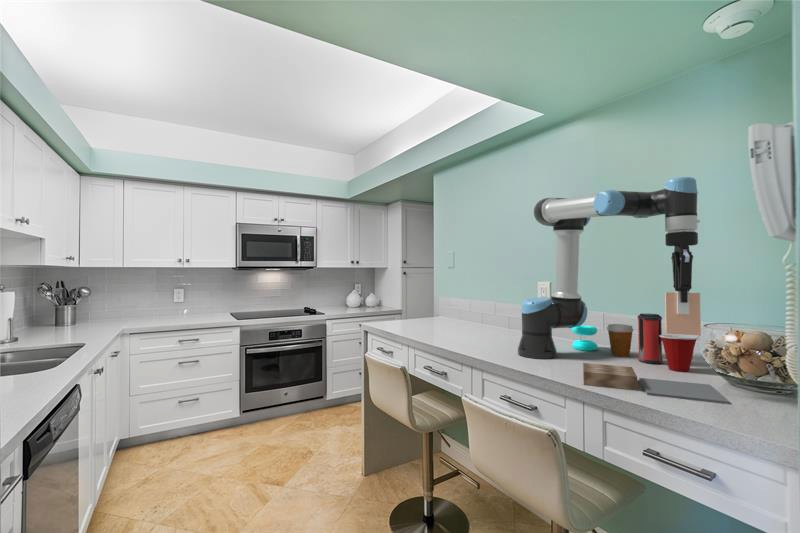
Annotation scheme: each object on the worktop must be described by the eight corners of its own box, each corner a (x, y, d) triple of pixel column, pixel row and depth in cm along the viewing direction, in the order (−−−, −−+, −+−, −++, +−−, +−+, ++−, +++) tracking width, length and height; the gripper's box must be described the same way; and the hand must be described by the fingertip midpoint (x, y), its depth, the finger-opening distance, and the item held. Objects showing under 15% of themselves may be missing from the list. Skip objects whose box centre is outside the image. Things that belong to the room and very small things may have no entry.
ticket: (666, 333, 110) (665, 292, 110) (665, 333, 111) (665, 292, 111) (700, 335, 107) (699, 292, 107) (699, 334, 108) (698, 292, 108)
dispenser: (583, 384, 116) (583, 370, 116) (583, 374, 126) (583, 361, 126) (637, 390, 110) (637, 375, 110) (632, 379, 120) (631, 366, 120)
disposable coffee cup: (626, 352, 159) (626, 324, 159) (638, 357, 150) (638, 327, 150) (603, 352, 160) (602, 323, 160) (613, 357, 150) (613, 327, 151)
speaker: (633, 359, 146) (632, 313, 146) (652, 359, 147) (651, 312, 147) (647, 364, 139) (647, 315, 139) (667, 364, 139) (667, 315, 139)
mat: (647, 394, 106) (647, 392, 106) (639, 379, 120) (639, 377, 120) (729, 404, 98) (729, 401, 98) (709, 386, 113) (709, 384, 113)
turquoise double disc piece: (590, 324, 172) (601, 328, 162) (590, 346, 172) (602, 351, 162) (568, 324, 172) (578, 328, 162) (568, 346, 172) (578, 351, 162)
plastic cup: (689, 366, 135) (688, 333, 135) (704, 375, 125) (704, 338, 125) (654, 365, 138) (654, 332, 138) (666, 372, 128) (666, 337, 128)
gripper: (704, 229, 101) (706, 317, 101) (690, 233, 114) (692, 311, 114) (670, 230, 105) (672, 315, 104) (660, 234, 117) (662, 310, 117)
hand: (682, 313), depth 109 cm, fingers closed on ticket
